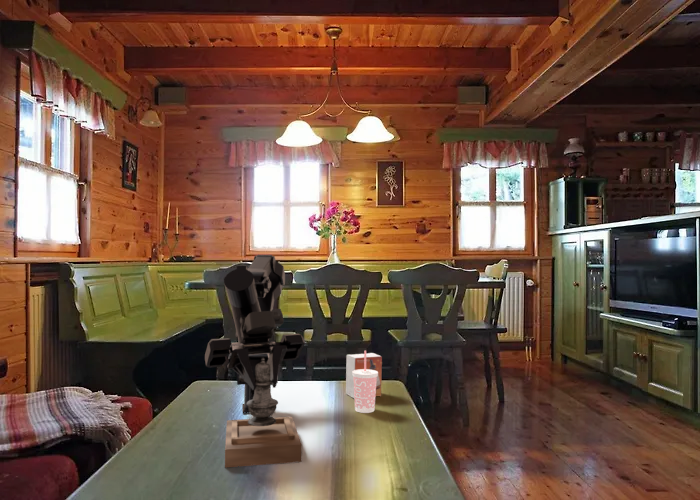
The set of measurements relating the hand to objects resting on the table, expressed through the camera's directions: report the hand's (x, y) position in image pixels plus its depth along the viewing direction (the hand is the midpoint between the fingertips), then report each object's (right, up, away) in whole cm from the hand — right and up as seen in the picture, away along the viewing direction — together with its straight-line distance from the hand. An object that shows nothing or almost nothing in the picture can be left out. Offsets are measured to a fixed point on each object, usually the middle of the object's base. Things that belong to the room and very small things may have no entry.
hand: (264, 387), depth 94 cm
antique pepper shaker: (-1, -7, +1) cm, 7 cm away
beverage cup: (+19, -12, +26) cm, 35 cm away
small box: (+19, -13, +39) cm, 45 cm away
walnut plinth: (-1, -11, +1) cm, 12 cm away
